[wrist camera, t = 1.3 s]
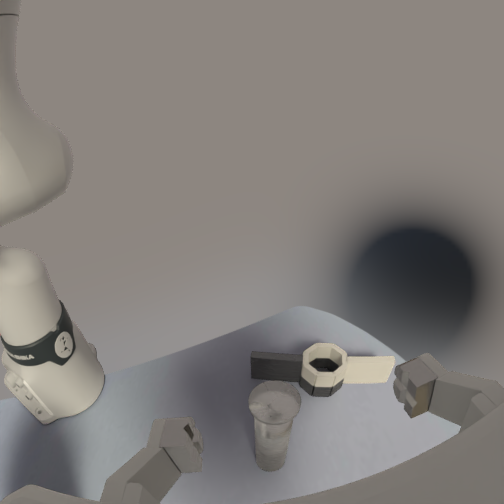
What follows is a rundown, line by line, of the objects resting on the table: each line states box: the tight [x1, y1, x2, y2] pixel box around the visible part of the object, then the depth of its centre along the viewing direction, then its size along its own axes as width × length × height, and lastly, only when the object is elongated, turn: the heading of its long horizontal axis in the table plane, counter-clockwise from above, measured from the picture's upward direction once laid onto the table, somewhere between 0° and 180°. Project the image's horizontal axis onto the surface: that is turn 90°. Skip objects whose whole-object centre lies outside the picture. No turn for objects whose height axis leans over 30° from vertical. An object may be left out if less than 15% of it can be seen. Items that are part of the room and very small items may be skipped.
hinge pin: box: [249, 380, 301, 472], centre depth 26 cm, size 4×4×15 cm
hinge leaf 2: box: [301, 343, 395, 387], centre depth 39 cm, size 14×6×5 cm, turn 81°
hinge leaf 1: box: [251, 351, 344, 397], centre depth 40 cm, size 14×6×5 cm, turn 81°
